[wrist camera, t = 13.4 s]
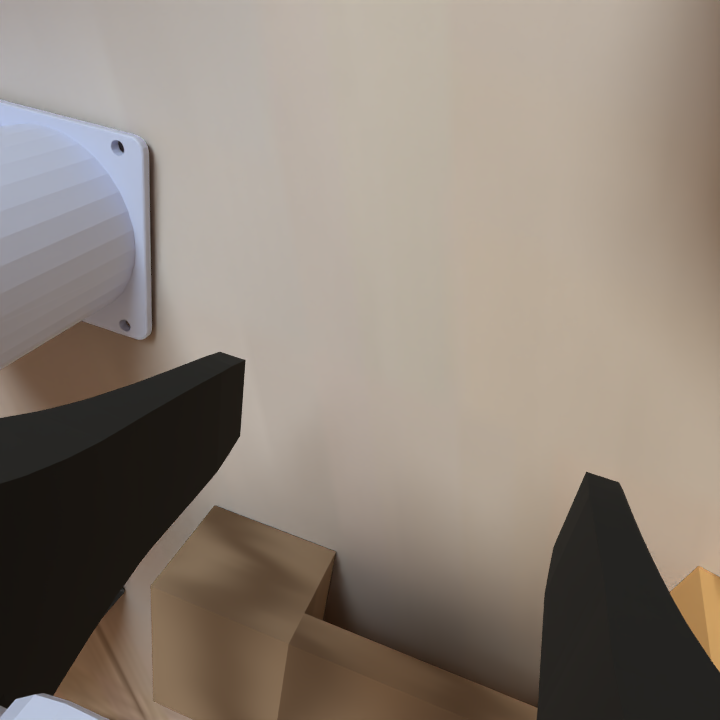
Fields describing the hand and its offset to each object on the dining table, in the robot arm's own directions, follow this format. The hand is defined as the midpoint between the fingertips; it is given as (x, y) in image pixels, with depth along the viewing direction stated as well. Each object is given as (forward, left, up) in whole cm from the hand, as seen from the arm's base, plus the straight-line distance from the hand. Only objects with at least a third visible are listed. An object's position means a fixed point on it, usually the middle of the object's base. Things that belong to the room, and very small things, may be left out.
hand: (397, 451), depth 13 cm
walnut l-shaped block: (0, -18, -9) cm, 20 cm away
